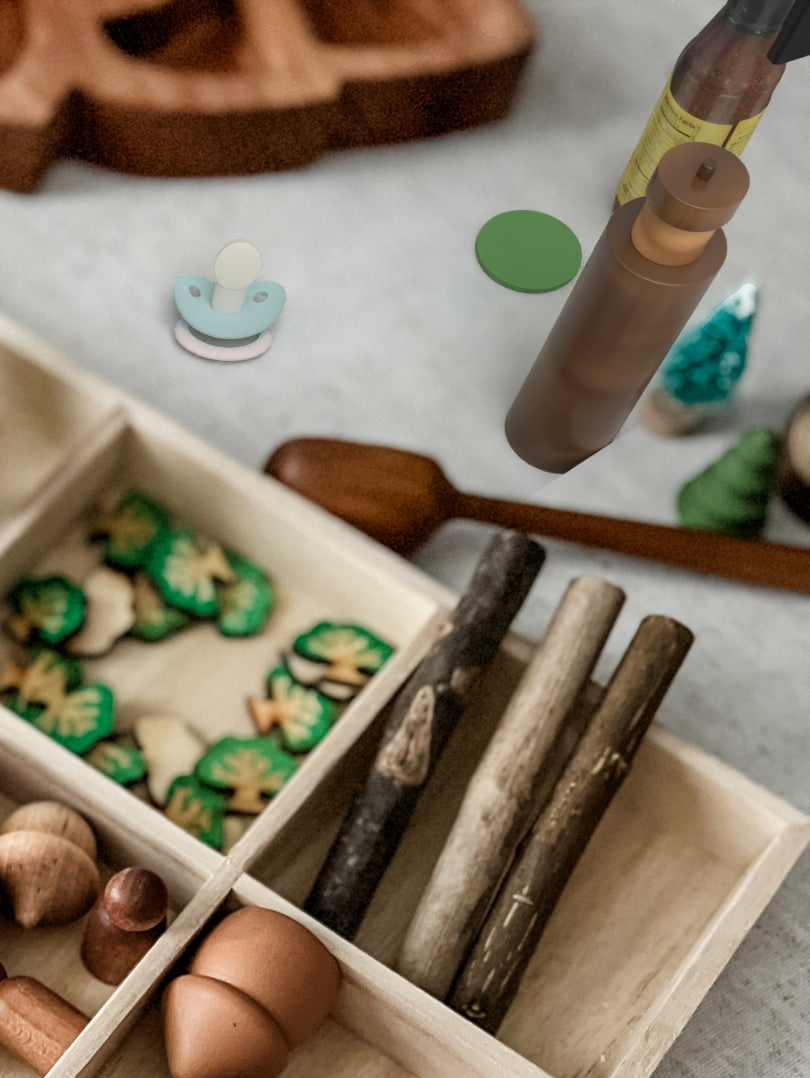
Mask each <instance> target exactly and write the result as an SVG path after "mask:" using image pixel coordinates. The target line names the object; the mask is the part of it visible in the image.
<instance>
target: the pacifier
mask: <svg viewBox="0 0 810 1078" xmlns="http://www.w3.org/2000/svg"><path fill="white" fill-rule="evenodd" d="M262 266H263V260H262V255H261V252H260V250H259V248H258V247H257V245H255V244H254V243H253V242H252V241H249V240H247V239H243V238H242V239H241V238H240V239H234V240H231V241H229V242H228V243H226V244H224V245H223V247H221V249H220V250H219V251H218V252H217V254H216V256H215V259H214V262H213V268H212V269H213V271H212V274H213V277H214V280H215V282H214V281H212V280H210V279H208V278H206V277H204V276H200V275H198V274H192V273H185V274H181V275H179V276H177V277H176V279H175V281H174V283H173V287H172V296H173V300H174V303H175V307H176V308H177V310H178V312H179V314H180V316H181V317H180V319H179V320H178V321H176V323H175V325H174V328H173V331H174V332H173V333H174V336H175V339H176V340H177V342H178V343H179V344H180V346H182V347H183V349H186V350H187V351H188V352H190V353H192V354H194V355H196V356H198V357H201V358H204V359H208V360H215V361H220V362H239V361H245V360H250V359H253V358H257V357H258V356H260V355H261V354H264V353H265V352H266V351H267V350H268V349H269V348H270V347H271V345H272V342H273V334H272V331H271V329H270V328H269V327H271V326H272V325H274V323H275V322H276V321H277V320H278V318H279V317H280V316H281V314H282V312H283V310H284V309H285V305H286V301H287V292H286V289H285V287H284V286H283V285H281V284H280V283H278V282H276V281H270V280H257V279H258V277H259V275H260V274H261V271H262ZM190 289H192V290H195V291H196V292H197V293H198V295H199V296H193V294H191V292H190ZM258 296H264V297H266V298H265V299H264V300H263V301H259V302H256V301H255V300H254V299H255V298H256V297H258ZM190 327H192V328H194V329H195V330H196V331H198V332H200V333H202V334H204V335H206V336H209V337H213V338H215V339H216V338H217V339H224V340H239V339H245V338H249V337H251V336H255V335H257V339H256V340H254V341H253V342H251V343H249V344H246V345H242V346H235V347H221V346H217V345H212V344H209V343H206V342H204V341H202V340H201V339H198V338H197V337H195V336H194V335H193V334H192V333H191V331H190V329H189V328H190Z"/></svg>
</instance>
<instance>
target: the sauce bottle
mask: <svg viewBox="0 0 810 1078" xmlns="http://www.w3.org/2000/svg"><path fill="white" fill-rule="evenodd" d="M795 1H796V0H727V1H726V2H725V4H724V5H723V6H722V7H721V9H720V10H718V11H717V13H716V14H715V15H714V16H713V17H712V18H711V19H710V21H709V22H708V23H707V24H706V25H705V26H704V27H703V28H702V29H701V30H700V31H699V33H697V34H696V35H695V36H694V37H693V38H692V39H691V40H690V41H689V42H688V43H687V44H686V45H685V46H684V48H683V49H682V51H681V53H680V54H679V56H678V57H677V60H676V61H675V64H674V66H673V68H672V70H671V72H670V74H669V76H668V79H667V81H666V82H665V85H664V87H663V89H662V92H661V94H660V95H659V98H658V100H657V102H656V104H655V106H654V109H653V110H652V113H651V114H650V116H649V118H648V121H647V123H646V125H645V127H644V129H643V131H642V134H641V135H640V137H639V139H638V141H637V144H636V146H635V148H634V149H633V152H632V153H631V156H630V158H629V160H628V162H627V164H626V167H625V168H624V170H623V172H622V175H621V177H620V179H619V181H618V184H617V189H616V190H617V191H616V194H615V197H614V200H613V208H612V213H614V212H615V211H616V210H617V209H618V208H619V207H620V206H622V205H623V204H624V203H626V202H628V201H630V200H633V199H635V198H639V197H643V196H646V186H647V183H648V181H649V179H650V177H651V176H652V174H653V172H654V170H655V168H656V166H657V164H658V163H659V161H660V159H661V157H662V156H663V155H664V154H665V153H666V152H667V151H668V150H669V149H671V148H672V147H674V146H676V145H679V144H682V143H687V142H705V143H711V144H714V145H717V146H720V147H722V148H725V149H727V150H728V151H730V152H732V153H733V154H734V155H736V156H737V157H738V158H739V159H740V158H741V156H742V154H743V152H744V150H745V149H746V147H747V145H748V143H749V141H750V139H751V137H752V136H753V135H754V132H755V131H756V128H757V127H758V125H759V123H760V121H761V120H762V118H763V116H764V114H765V112H766V110H767V108H768V107H769V105H770V102H771V100H772V97H773V93H774V91H775V90H776V88H777V86H778V85H779V83H780V81H781V80H782V79H783V75H784V73H785V72H786V69H787V63H788V62H787V63H784V64H781V65H777V64H776V65H772V63H771V62H770V61H769V60H768V59H767V57H766V55H767V53H768V51H769V50H770V48H771V46H772V44H773V43H774V41H775V39H776V37H777V36H778V34H779V32H780V30H781V29H782V24H783V22H784V20H785V18H786V17H787V15H788V13H789V11H790V10H791V8H792V6H793V4H794V3H795Z"/></svg>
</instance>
